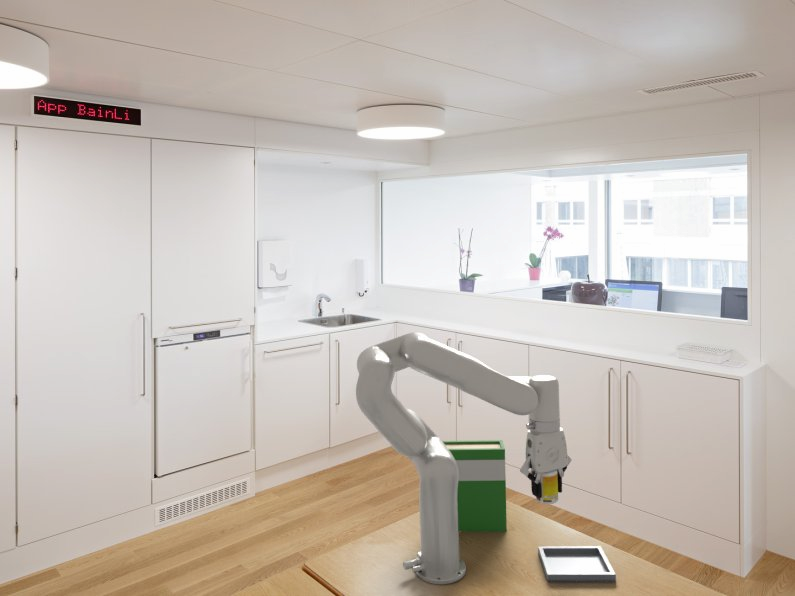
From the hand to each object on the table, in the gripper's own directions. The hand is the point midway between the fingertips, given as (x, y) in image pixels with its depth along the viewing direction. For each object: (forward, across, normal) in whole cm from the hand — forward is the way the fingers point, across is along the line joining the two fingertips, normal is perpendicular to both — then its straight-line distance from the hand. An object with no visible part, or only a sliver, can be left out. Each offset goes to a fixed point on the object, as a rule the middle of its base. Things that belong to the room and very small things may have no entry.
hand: (547, 492), depth 151 cm
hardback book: (+17, -8, +24) cm, 30 cm away
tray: (+18, +3, -7) cm, 19 cm away
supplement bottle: (+2, 0, 0) cm, 2 cm away
